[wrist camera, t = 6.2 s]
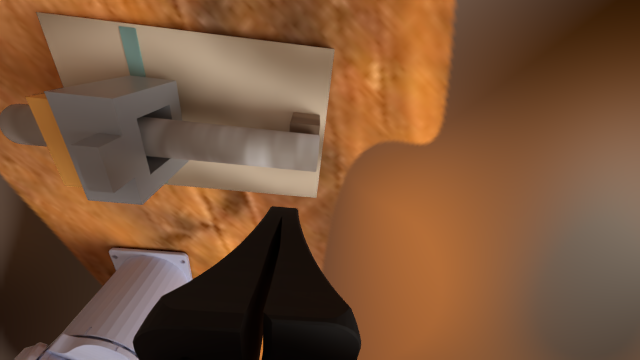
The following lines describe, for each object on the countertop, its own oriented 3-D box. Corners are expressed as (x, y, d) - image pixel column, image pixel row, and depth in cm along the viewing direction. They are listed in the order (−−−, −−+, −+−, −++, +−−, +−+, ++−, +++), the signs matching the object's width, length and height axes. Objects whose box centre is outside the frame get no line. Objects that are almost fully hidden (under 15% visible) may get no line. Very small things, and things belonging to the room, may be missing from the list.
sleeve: (188, 161, 20) (123, 222, 13) (149, 157, 20) (63, 217, 13) (176, 80, 17) (84, 106, 10) (129, 75, 17) (6, 98, 10)
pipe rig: (316, 191, 24) (315, 237, 18) (105, 172, 22) (37, 215, 17) (333, 48, 18) (340, 52, 12) (50, 13, 17) (-79, 0, 11)
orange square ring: (144, 154, 19) (92, 188, 15) (123, 152, 19) (64, 185, 14) (126, 84, 17) (58, 100, 12) (103, 81, 16) (25, 96, 12)
